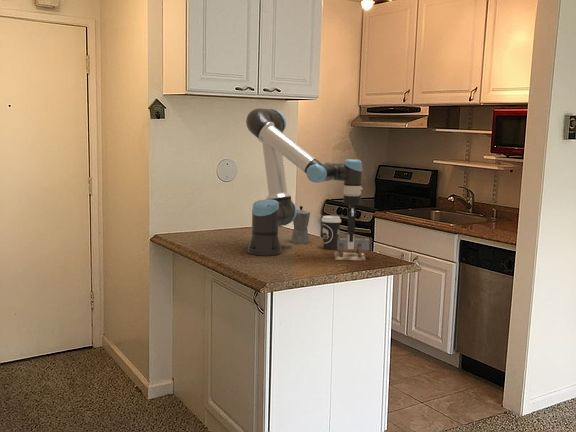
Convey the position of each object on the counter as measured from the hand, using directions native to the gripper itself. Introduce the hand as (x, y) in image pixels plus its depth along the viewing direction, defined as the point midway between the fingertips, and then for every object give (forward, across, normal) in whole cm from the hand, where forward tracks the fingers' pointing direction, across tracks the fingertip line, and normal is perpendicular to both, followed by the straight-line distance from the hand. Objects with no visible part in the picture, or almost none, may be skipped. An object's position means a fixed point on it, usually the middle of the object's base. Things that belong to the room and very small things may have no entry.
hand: (350, 247), depth 273 cm
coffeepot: (+4, +34, +23) cm, 41 cm away
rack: (+4, 0, 0) cm, 4 cm away
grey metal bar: (0, 0, 0) cm, 0 cm away
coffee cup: (+4, +20, +8) cm, 22 cm away
